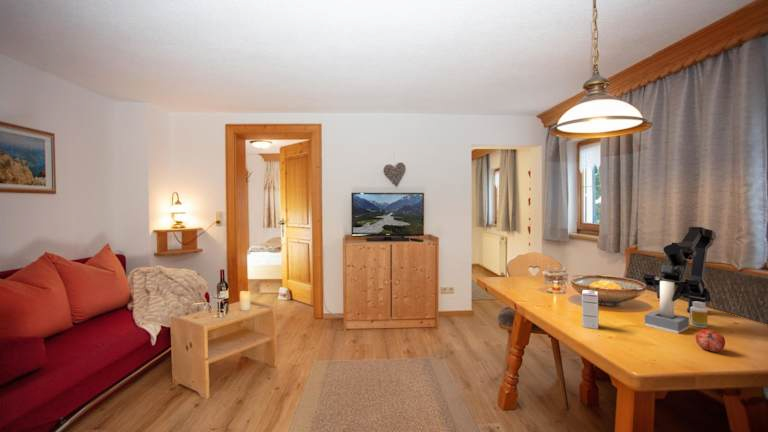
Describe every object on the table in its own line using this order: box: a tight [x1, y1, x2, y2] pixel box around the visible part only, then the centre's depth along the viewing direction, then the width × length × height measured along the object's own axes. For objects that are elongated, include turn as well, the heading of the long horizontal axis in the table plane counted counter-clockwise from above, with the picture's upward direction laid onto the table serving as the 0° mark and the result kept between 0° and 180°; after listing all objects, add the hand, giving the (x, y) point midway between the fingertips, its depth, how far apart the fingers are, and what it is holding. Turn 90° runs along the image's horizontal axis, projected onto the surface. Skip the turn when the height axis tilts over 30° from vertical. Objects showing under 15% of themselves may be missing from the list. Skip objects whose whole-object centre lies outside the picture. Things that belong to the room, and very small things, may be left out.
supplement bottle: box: [689, 301, 709, 329], centre depth 140 cm, size 5×5×10 cm
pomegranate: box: [695, 328, 726, 353], centre depth 117 cm, size 7×7×10 cm
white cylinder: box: [659, 281, 675, 317], centre depth 139 cm, size 5×5×14 cm
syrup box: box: [581, 289, 600, 330], centre depth 140 cm, size 6×6×14 cm
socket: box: [644, 309, 690, 334], centre depth 139 cm, size 11×11×4 cm
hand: (665, 299), depth 138 cm, fingers closed on white cylinder, 5 cm apart
